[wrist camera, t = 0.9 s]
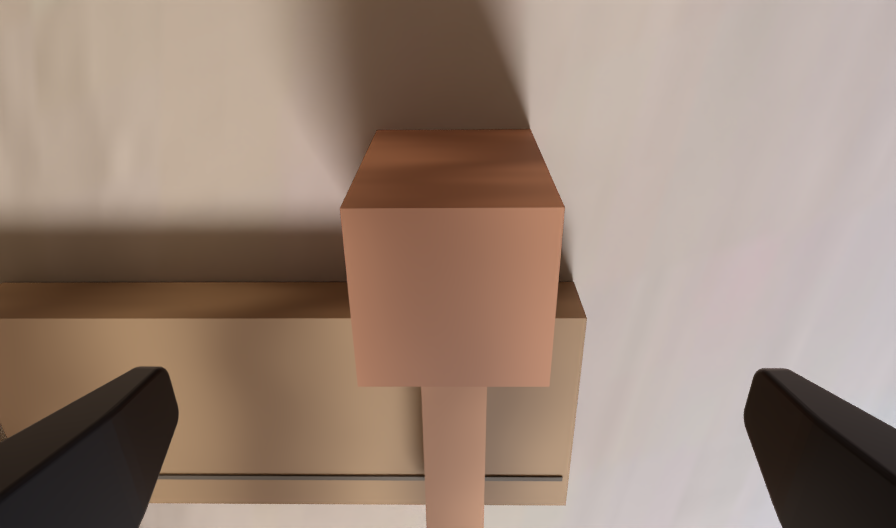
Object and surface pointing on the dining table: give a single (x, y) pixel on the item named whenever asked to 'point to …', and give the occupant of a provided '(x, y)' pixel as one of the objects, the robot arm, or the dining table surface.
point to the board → (274, 391)
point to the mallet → (453, 287)
